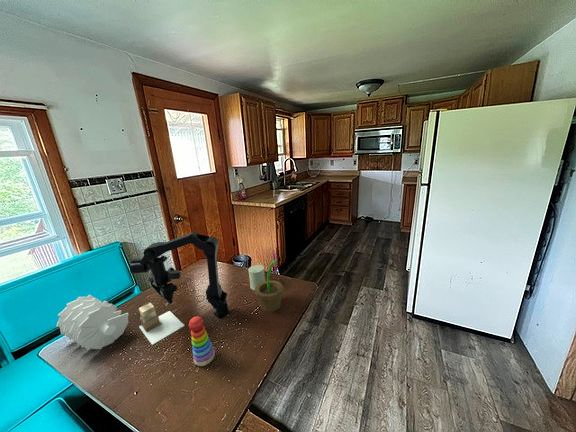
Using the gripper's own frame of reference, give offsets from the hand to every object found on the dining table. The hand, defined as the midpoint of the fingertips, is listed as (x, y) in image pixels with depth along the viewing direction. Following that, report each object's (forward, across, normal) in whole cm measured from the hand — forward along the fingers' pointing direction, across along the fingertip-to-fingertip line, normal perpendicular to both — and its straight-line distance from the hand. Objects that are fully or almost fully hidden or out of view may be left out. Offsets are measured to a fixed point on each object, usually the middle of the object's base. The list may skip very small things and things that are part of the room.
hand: (166, 299), depth 109 cm
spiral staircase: (+11, +16, +26) cm, 32 cm away
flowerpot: (+13, -32, -36) cm, 50 cm away
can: (+13, -13, -45) cm, 48 cm away
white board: (+11, -1, +5) cm, 12 cm away
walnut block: (+11, +4, +8) cm, 14 cm away
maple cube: (+6, +4, +8) cm, 10 cm away
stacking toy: (+12, -33, +2) cm, 36 cm away
